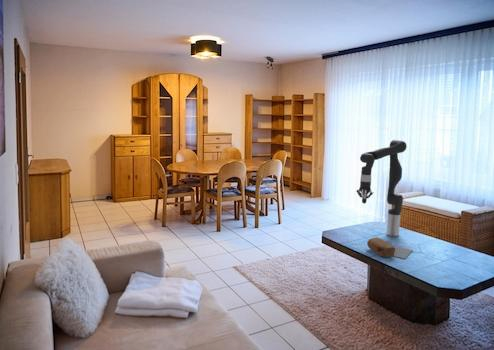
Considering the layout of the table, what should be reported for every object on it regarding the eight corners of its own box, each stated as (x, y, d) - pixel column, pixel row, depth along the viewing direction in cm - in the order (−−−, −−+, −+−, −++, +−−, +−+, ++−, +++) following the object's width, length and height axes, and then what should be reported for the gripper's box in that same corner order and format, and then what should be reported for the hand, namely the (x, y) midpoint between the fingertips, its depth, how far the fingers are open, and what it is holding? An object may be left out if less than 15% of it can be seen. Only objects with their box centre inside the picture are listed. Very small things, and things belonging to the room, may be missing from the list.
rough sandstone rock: (380, 236, 291) (396, 246, 272) (379, 246, 292) (395, 257, 273) (366, 237, 288) (382, 248, 269) (365, 247, 290) (381, 258, 271)
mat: (384, 244, 299) (384, 243, 299) (412, 251, 287) (412, 250, 287) (375, 252, 283) (375, 251, 283) (404, 259, 271) (404, 258, 271)
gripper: (376, 180, 298) (374, 203, 301) (359, 178, 306) (357, 201, 309) (372, 182, 292) (370, 205, 295) (355, 180, 300) (353, 202, 303)
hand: (364, 203), depth 302 cm, fingers closed
